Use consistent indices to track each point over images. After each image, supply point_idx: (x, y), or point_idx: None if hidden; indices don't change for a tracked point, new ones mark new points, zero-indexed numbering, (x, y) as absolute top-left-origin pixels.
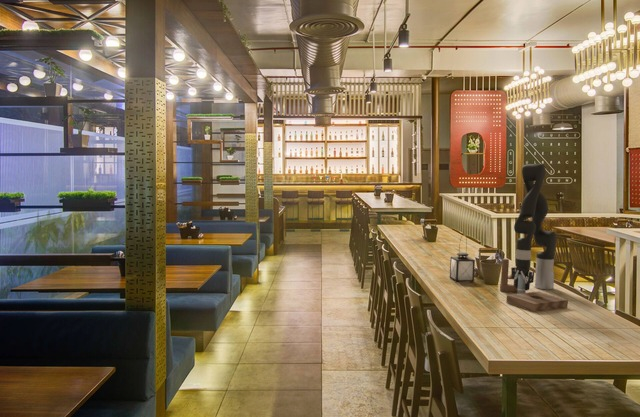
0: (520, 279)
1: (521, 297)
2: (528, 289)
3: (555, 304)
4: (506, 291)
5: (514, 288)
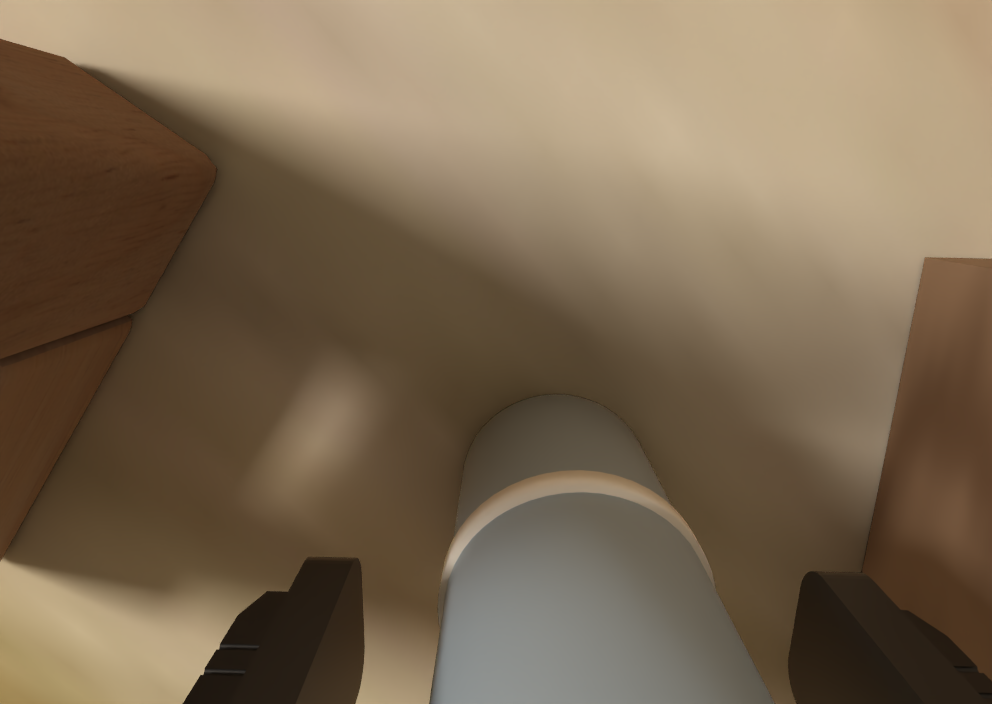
0: None
1: None
2: (862, 593)
3: None
4: (51, 466)
5: (65, 330)
